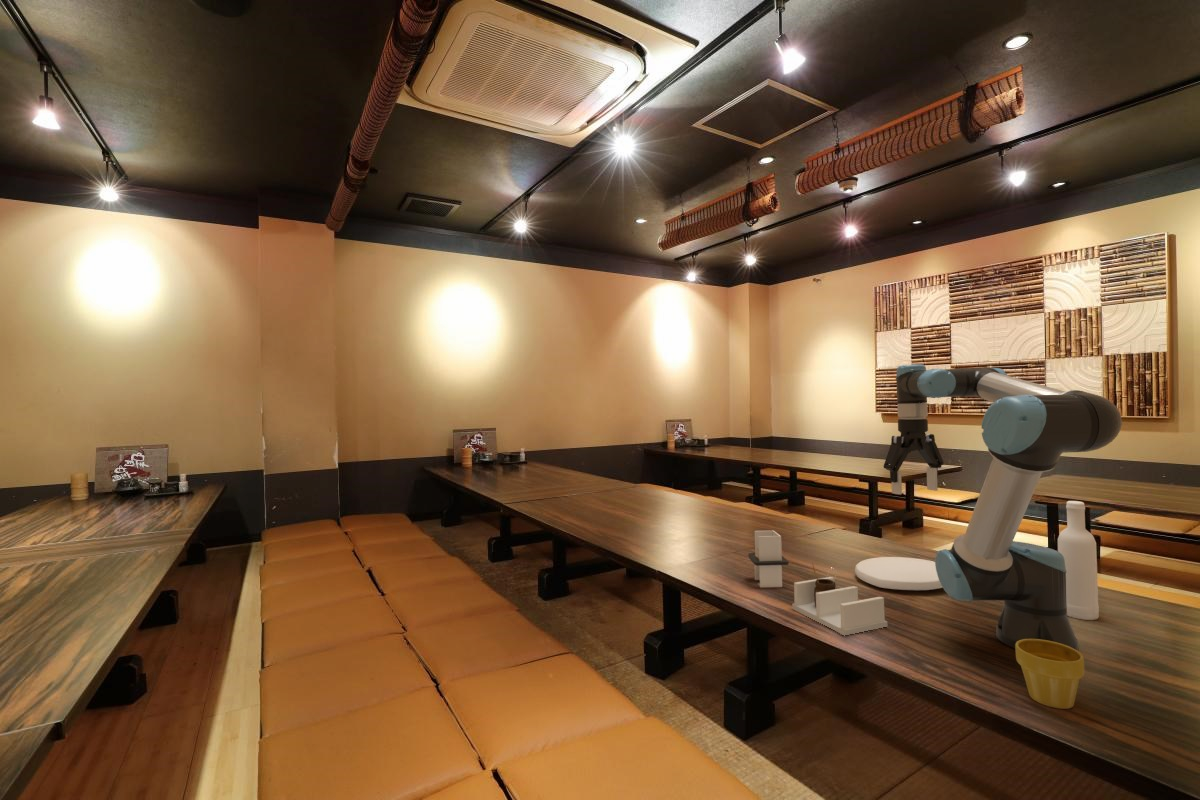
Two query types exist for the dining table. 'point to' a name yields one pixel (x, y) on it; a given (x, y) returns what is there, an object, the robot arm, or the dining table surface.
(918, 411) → the robot arm
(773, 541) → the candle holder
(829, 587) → the utensil holder
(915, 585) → the plate
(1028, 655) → the plant pot
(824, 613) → the slot rack
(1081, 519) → the bottle
